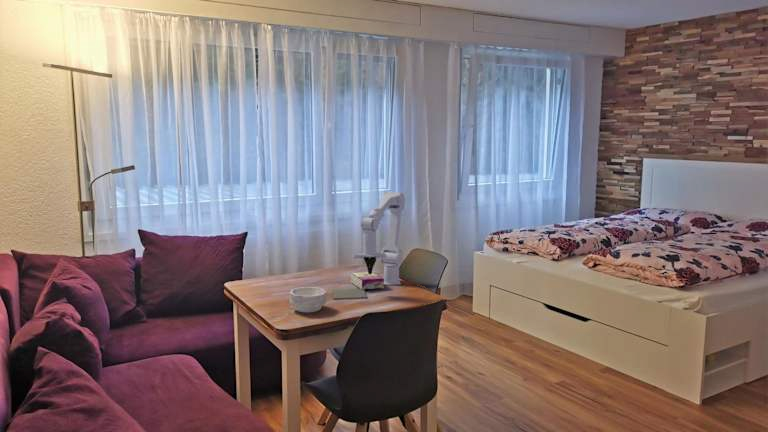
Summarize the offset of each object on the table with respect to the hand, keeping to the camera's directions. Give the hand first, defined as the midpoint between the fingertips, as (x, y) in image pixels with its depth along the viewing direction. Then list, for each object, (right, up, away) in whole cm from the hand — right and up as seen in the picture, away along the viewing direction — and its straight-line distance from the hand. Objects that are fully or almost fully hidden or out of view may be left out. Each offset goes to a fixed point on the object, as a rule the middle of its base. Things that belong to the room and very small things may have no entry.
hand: (369, 273), depth 269 cm
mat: (-9, -10, 0) cm, 13 cm away
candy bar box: (+1, -6, +7) cm, 9 cm away
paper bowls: (-25, -13, -22) cm, 35 cm away
